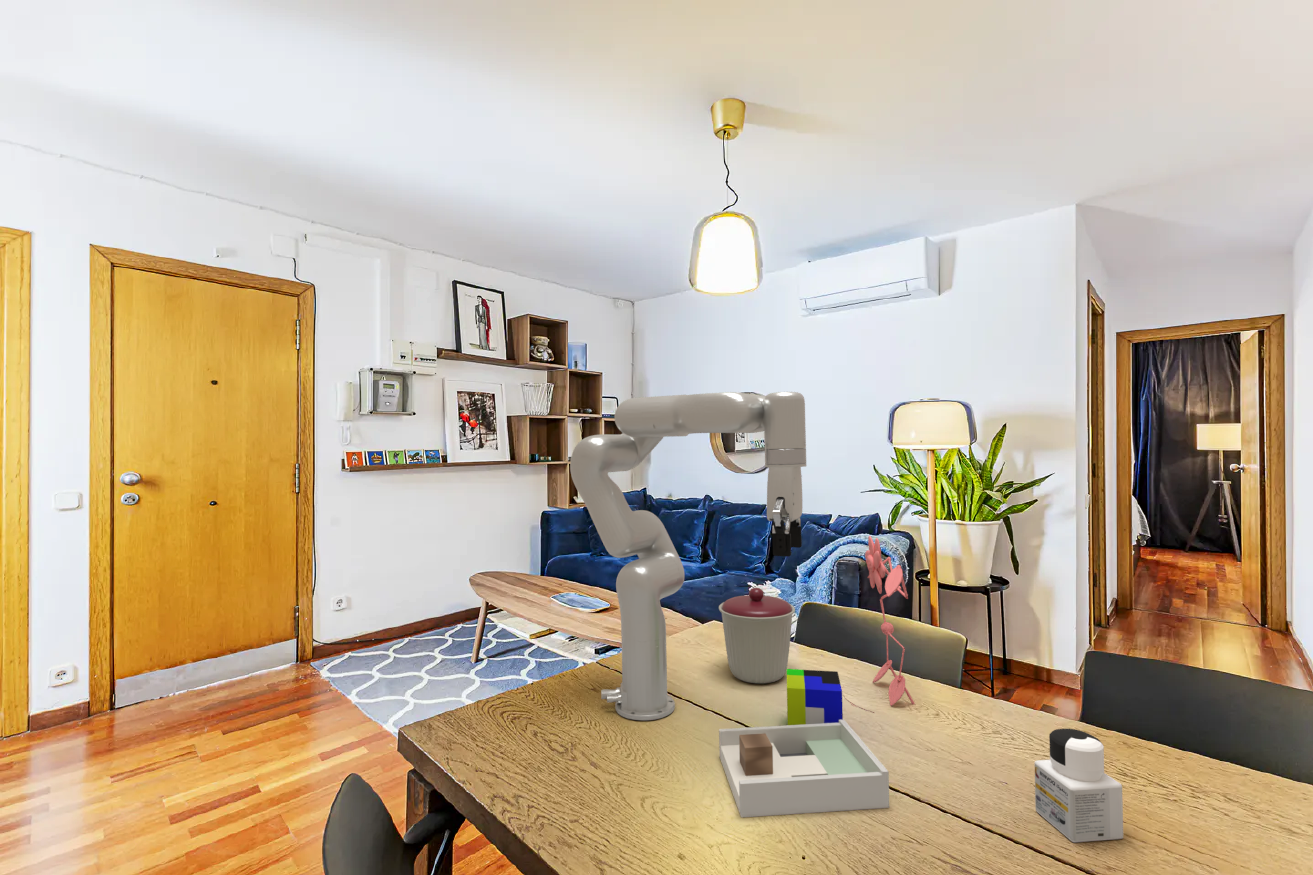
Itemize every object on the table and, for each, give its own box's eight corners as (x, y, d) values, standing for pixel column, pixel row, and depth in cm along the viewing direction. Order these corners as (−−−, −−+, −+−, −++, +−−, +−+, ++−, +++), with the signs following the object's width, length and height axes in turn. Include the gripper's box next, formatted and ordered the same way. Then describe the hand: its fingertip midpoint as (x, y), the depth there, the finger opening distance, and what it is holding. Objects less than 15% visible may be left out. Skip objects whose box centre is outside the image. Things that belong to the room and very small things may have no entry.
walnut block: (745, 775, 101) (745, 747, 101) (739, 761, 105) (739, 734, 105) (773, 774, 101) (772, 746, 101) (765, 759, 105) (765, 733, 105)
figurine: (895, 673, 150) (889, 527, 150) (931, 721, 124) (923, 545, 124) (830, 673, 151) (824, 528, 152) (851, 721, 126) (844, 547, 126)
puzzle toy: (843, 745, 115) (842, 691, 115) (787, 741, 117) (786, 687, 117) (838, 721, 125) (837, 671, 125) (787, 717, 127) (786, 668, 127)
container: (1034, 810, 94) (1032, 724, 94) (1082, 807, 95) (1080, 721, 95) (1072, 843, 86) (1070, 749, 86) (1124, 839, 87) (1122, 746, 87)
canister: (796, 665, 156) (795, 580, 157) (796, 693, 139) (794, 598, 139) (724, 660, 161) (723, 578, 161) (715, 687, 143) (713, 595, 143)
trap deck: (741, 817, 94) (740, 780, 94) (719, 757, 112) (719, 726, 112) (889, 807, 95) (888, 771, 95) (844, 749, 113) (844, 719, 113)
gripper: (775, 457, 125) (778, 543, 125) (753, 460, 109) (756, 558, 109) (813, 457, 122) (816, 544, 122) (796, 460, 106) (799, 560, 106)
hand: (787, 551), depth 115 cm, fingers open, 9 cm apart
